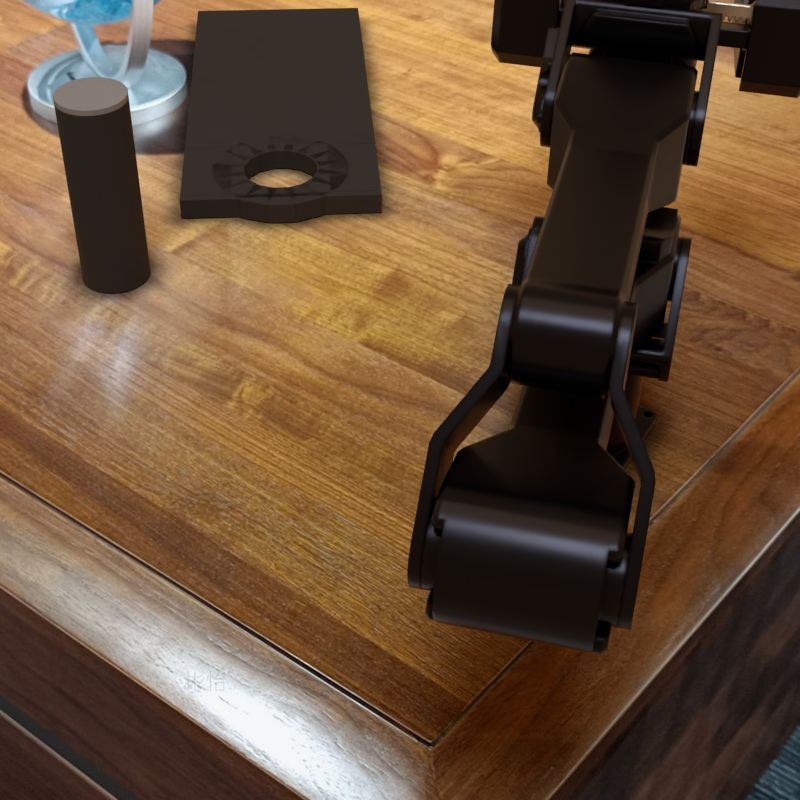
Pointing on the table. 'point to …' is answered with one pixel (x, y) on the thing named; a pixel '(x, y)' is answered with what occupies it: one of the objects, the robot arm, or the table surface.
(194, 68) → the board with round hole
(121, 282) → the cylinder post
